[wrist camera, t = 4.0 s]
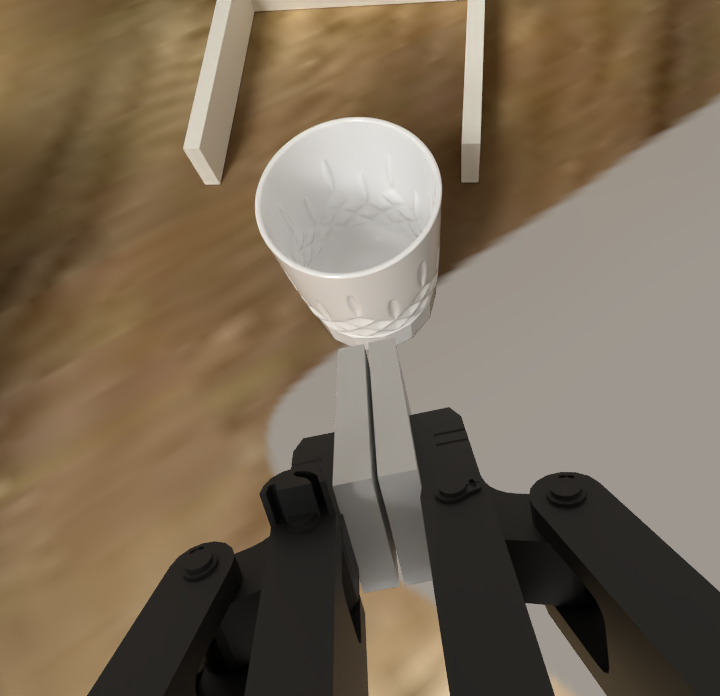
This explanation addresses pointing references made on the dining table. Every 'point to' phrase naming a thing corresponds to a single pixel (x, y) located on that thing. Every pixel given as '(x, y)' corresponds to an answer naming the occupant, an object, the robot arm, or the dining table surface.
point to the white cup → (356, 226)
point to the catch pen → (226, 69)
